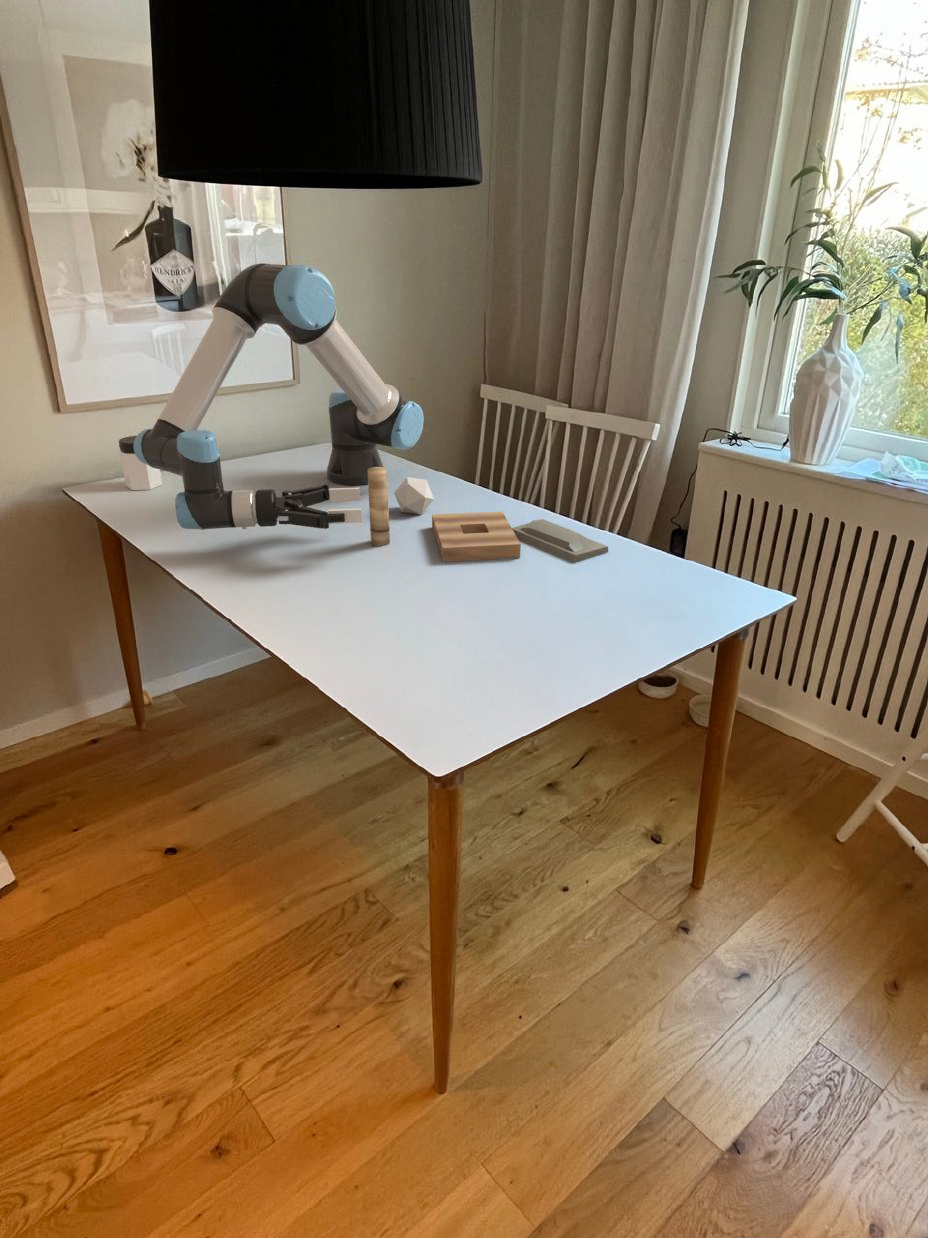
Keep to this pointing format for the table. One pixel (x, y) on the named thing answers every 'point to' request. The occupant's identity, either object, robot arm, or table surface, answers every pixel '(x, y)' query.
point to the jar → (137, 468)
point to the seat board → (475, 536)
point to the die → (414, 495)
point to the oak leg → (378, 506)
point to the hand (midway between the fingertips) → (361, 504)
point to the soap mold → (559, 540)
